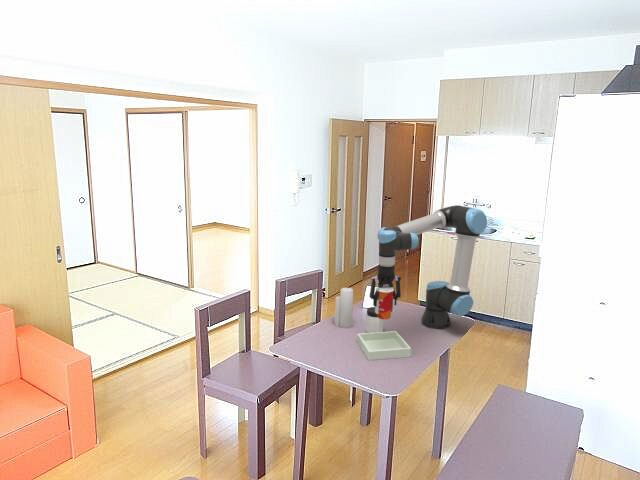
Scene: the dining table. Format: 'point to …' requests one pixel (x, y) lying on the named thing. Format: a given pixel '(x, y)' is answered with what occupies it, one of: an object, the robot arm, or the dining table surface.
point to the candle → (344, 308)
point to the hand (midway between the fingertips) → (384, 312)
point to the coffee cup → (385, 301)
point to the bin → (383, 345)
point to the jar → (373, 321)
